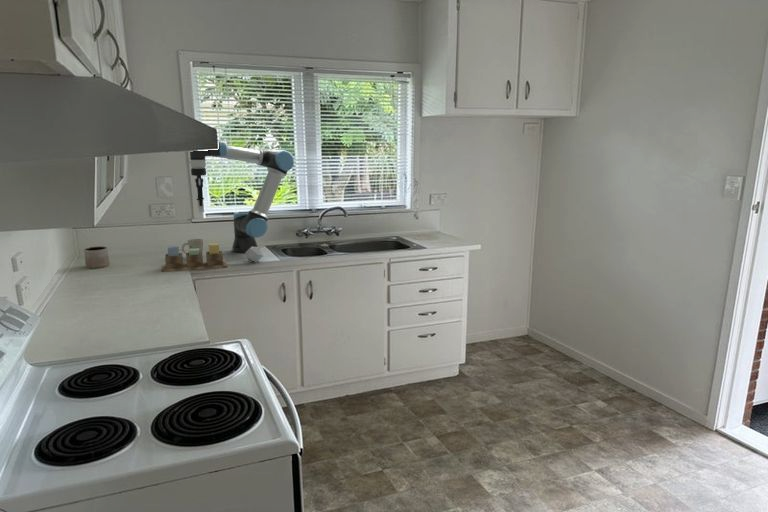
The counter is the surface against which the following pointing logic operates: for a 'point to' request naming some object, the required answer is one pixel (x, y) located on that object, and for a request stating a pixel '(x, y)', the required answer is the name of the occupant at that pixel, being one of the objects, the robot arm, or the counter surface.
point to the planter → (96, 257)
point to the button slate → (173, 250)
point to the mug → (194, 244)
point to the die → (254, 254)
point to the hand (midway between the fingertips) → (201, 211)
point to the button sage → (194, 251)
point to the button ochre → (213, 248)
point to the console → (193, 262)
